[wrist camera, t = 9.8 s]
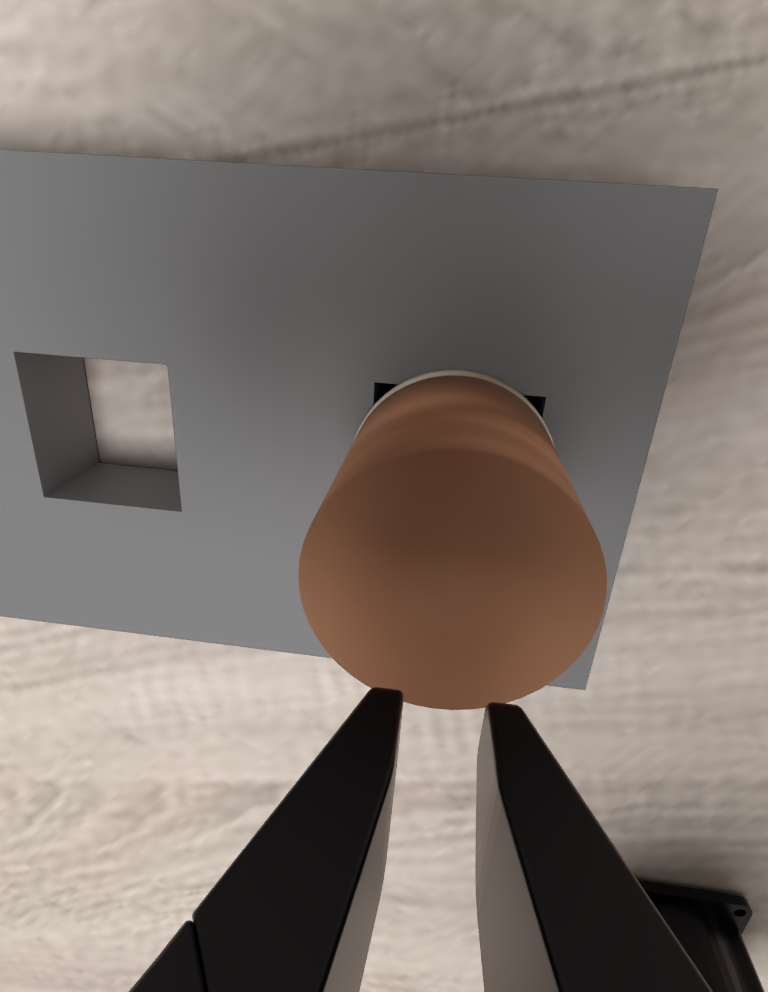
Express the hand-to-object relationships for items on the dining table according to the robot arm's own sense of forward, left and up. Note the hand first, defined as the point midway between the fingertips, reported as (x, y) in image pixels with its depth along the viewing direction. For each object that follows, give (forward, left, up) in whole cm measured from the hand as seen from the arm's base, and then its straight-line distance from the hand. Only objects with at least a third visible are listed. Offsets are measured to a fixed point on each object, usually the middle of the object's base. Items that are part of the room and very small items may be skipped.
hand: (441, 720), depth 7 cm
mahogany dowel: (0, 0, -12) cm, 12 cm away
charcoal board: (+5, 0, -12) cm, 13 cm away
